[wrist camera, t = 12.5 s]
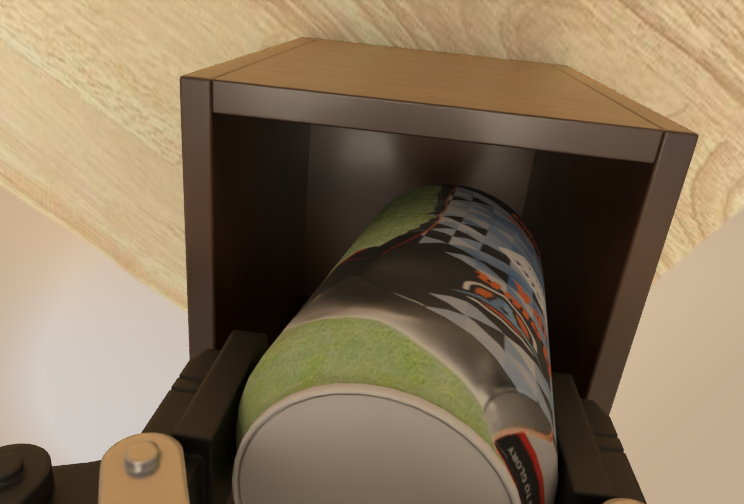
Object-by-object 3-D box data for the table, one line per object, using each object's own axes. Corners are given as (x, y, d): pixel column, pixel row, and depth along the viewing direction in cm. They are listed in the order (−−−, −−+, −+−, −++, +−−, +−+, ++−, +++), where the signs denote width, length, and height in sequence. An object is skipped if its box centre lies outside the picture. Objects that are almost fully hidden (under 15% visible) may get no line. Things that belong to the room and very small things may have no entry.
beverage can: (513, 347, 21) (600, 714, 10) (313, 316, 22) (194, 643, 11) (556, 182, 19) (732, 437, 8) (330, 149, 19) (196, 352, 8)
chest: (301, 36, 27) (177, 75, 14) (567, 65, 26) (701, 134, 13) (289, 298, 32) (193, 502, 19) (510, 327, 32) (564, 556, 19)
